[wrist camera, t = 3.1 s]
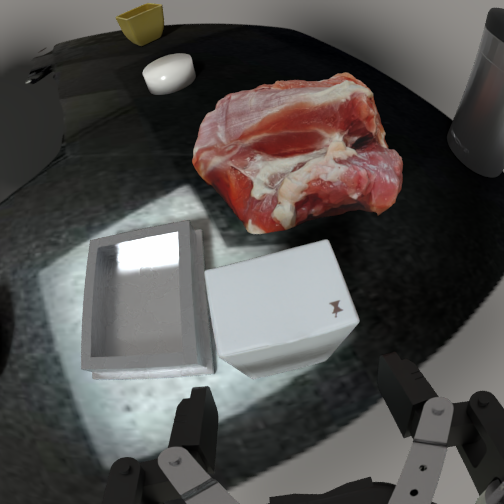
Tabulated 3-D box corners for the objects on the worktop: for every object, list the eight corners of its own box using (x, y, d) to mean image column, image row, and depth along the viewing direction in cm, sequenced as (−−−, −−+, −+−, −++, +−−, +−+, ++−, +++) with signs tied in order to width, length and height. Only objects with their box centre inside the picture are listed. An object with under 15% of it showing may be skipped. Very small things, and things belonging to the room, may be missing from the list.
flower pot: (171, 36, 55) (162, 4, 47) (137, 51, 53) (126, 19, 45) (156, 31, 58) (147, 2, 50) (125, 46, 56) (114, 17, 49)
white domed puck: (196, 66, 45) (191, 49, 42) (195, 88, 41) (190, 69, 38) (152, 77, 45) (146, 61, 42) (146, 100, 42) (139, 82, 38)
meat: (214, 278, 27) (179, 212, 18) (192, 127, 37) (173, 62, 28) (425, 227, 27) (466, 158, 18) (346, 100, 37) (352, 37, 28)
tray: (202, 232, 29) (194, 214, 26) (214, 374, 23) (205, 370, 20) (101, 251, 29) (86, 236, 26) (96, 379, 23) (76, 375, 20)
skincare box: (312, 311, 24) (332, 235, 14) (326, 361, 22) (364, 323, 12) (238, 329, 24) (200, 267, 14) (249, 381, 22) (217, 362, 12)
